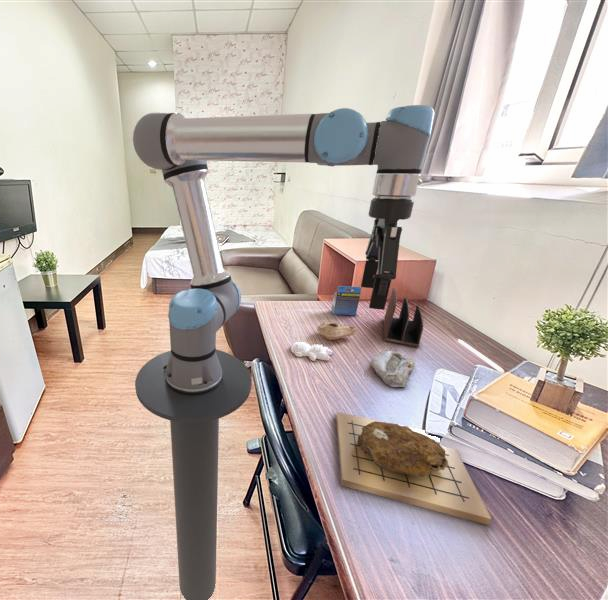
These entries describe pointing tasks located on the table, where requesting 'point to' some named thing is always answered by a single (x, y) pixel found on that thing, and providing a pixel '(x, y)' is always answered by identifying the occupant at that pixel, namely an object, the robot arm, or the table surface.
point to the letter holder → (402, 324)
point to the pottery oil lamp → (335, 330)
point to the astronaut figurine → (311, 351)
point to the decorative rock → (402, 449)
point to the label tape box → (346, 301)
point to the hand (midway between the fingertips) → (371, 297)
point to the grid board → (408, 476)
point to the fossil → (393, 367)
